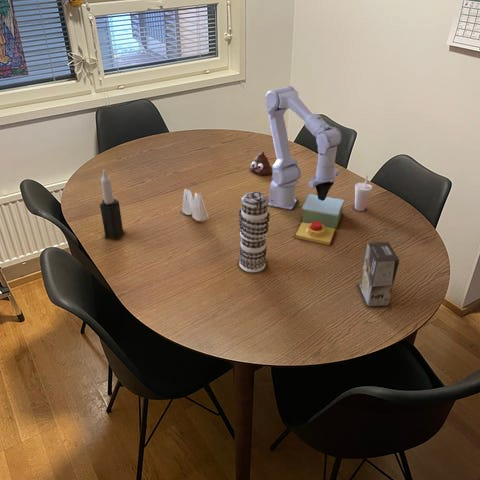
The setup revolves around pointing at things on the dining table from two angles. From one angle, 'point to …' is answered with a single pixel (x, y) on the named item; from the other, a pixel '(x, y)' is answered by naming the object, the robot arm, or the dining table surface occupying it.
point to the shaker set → (194, 206)
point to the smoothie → (362, 195)
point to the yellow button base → (315, 234)
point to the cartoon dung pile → (261, 165)
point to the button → (316, 226)
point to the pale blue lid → (323, 205)
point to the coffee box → (378, 273)
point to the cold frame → (322, 218)
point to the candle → (110, 211)
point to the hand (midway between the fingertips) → (321, 199)
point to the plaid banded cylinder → (253, 231)
